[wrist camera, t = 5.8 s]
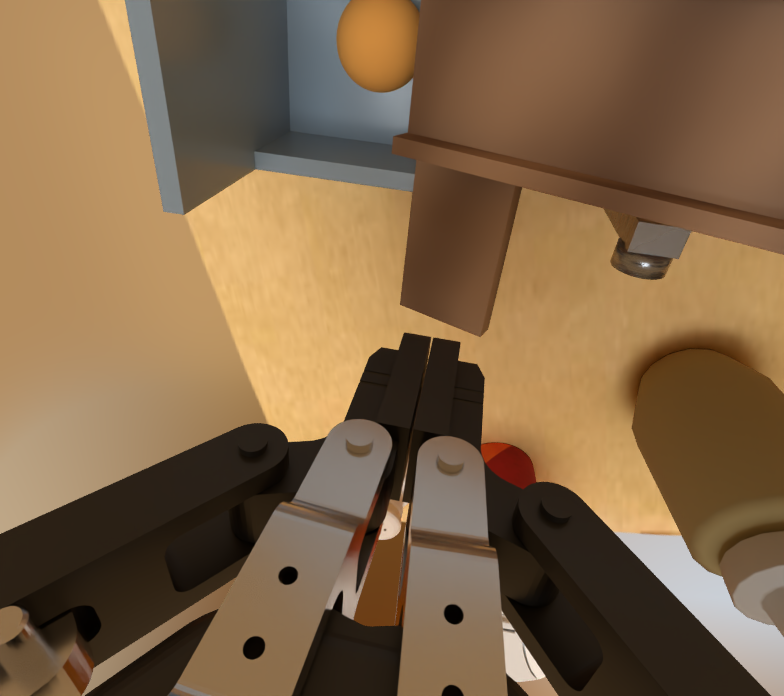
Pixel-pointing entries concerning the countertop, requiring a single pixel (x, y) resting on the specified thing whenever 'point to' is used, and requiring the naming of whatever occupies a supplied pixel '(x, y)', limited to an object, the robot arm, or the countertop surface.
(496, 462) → the paper cup
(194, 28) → the cup
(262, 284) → the countertop surface
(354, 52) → the ball
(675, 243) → the pivot stand
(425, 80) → the lever
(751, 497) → the squeeze bottle
